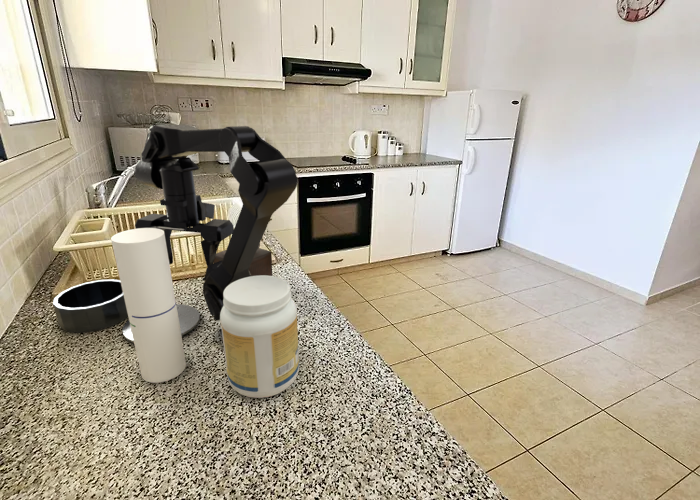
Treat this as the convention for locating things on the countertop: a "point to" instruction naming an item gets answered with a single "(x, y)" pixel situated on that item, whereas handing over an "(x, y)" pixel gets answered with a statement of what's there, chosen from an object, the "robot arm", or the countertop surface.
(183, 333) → the pan lid
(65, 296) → the pan
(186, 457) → the countertop surface
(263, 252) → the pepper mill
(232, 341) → the supplement tub
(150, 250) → the cylindrical container
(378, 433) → the countertop surface
